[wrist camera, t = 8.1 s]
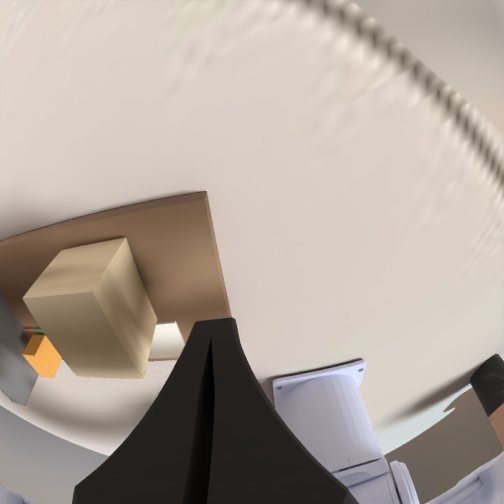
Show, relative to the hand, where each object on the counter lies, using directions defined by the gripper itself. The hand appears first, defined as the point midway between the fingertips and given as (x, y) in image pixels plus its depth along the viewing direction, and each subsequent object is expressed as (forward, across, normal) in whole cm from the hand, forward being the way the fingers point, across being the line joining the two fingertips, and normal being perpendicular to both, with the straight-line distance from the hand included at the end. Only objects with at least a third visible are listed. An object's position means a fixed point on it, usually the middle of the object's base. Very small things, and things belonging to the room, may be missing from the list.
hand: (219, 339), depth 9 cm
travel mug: (+6, -39, +29) cm, 49 cm away
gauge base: (+6, +9, +1) cm, 11 cm away
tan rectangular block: (+4, +6, +1) cm, 7 cm away
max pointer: (+4, +14, +4) cm, 15 cm away
